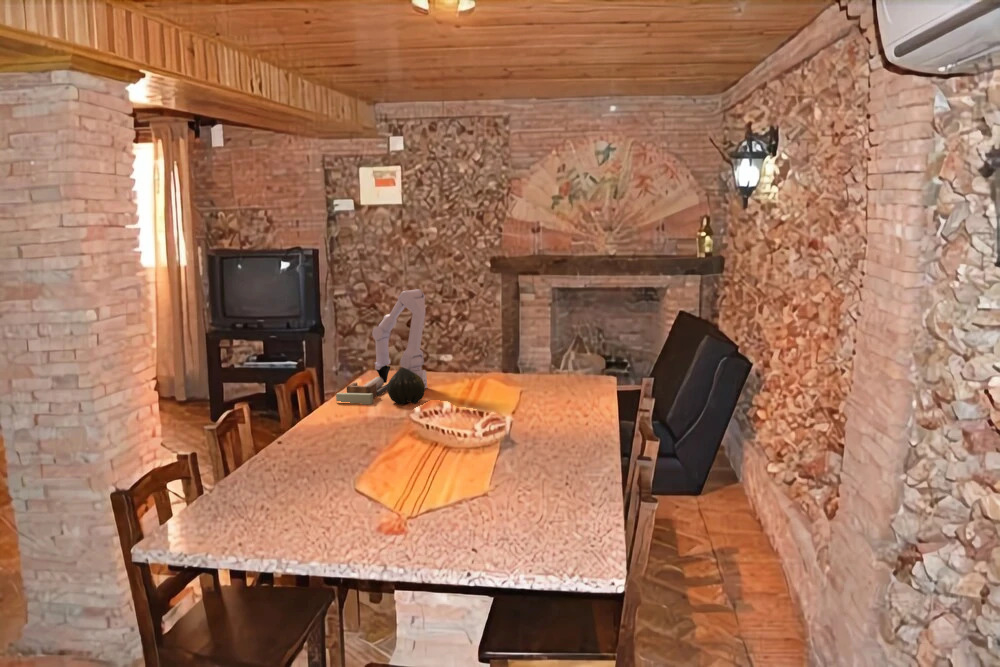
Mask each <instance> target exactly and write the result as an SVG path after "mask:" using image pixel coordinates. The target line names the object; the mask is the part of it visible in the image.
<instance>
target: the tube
mask: <svg viewBox="0 0 1000 667" xmlns="http://www.w3.org/2000/svg"><path fill="white" fill-rule="evenodd" d="M372 383H376V390H378V389H380V388H382V387H383V386H385V385H384V384H385V383H384V380H383V379H382V378H381V377H380V376H376V377H374V378H373V379H371V380H370V381H368V382H367V383H365V384H364V385H363V386H368V385H370V384H372Z"/></svg>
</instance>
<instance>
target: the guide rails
mask: <svg viewBox="0 0 1000 667" xmlns="http://www.w3.org/2000/svg"><path fill="white" fill-rule="evenodd" d="M387 390H388V383H386V384H385V385H382V386H381V387H380V388H378V389H377V397H379V395H380V396H381V395H383V394H384V393H386V392H388V391H387ZM382 393H383V394H382Z"/></svg>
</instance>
